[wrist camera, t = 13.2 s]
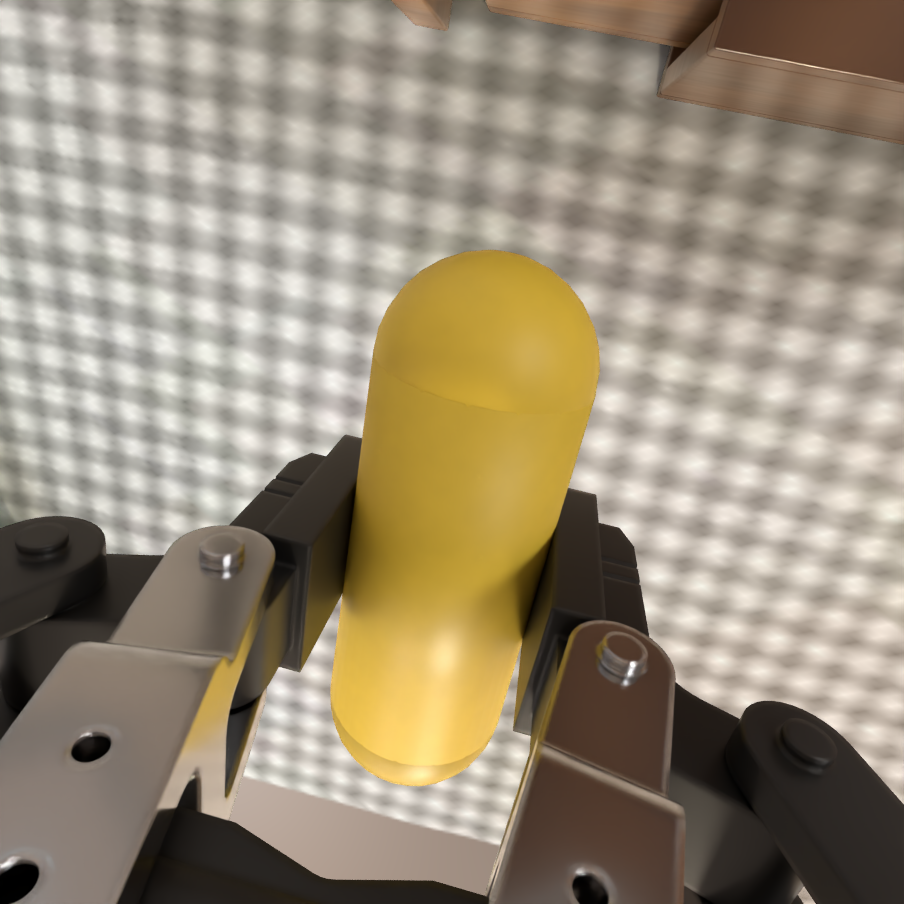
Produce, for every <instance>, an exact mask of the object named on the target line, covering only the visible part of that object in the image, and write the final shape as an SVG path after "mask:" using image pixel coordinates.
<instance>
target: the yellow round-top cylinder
mask: <svg viewBox="0 0 904 904" xmlns="http://www.w3.org/2000/svg"><path fill="white" fill-rule="evenodd" d="M599 372H600V362H599V346H598V342H597V338H596V333H595V329H594V326H593V324H592V322H591V320H590V317H589V315H588V313H587V311H586V309H585V307H584V305H583V303H582V301H581V300H580V299H579V298H578V296H577V295H576V294H575V292H574V291H573V290H572V288H571V287H570V286H569V285H568V284H567V283H566V282H565V281H564V280H562V279H561V278H560V277H559V276H558V275H557V274H555V273H554V272H553V271H552V270H551V269H549V268H547V267H545V266H543V265H542V264H540V263H538V262H536V261H534V260H532V259H530V258H528V257H525V256H522V255H519V254H515V253H510V252H505V251H499V250H481V251H469V252H463V253H460V254H457V255H454V256H450V257H447V258H444V259H441V260H439V261H438V262H436V263H434V264H432V265H431V266H429V267H427V268H425V269H424V270H422V271H420V272H419V273H418V274H417V275H416V276H415V277H414V278H412V279H411V280H410V281H409V282H408V283H407V284H406V285H405V286H404V287H403V288H402V289H401V291H400V292H399V293H398V295H397V296H396V297H395V299H394V300H393V301H392V303H391V304H390V305H389V307H388V309H387V311H386V313H385V315H384V317H383V319H382V322H381V324H380V326H379V328H378V333H377V337H376V341H375V345H374V350H373V358H372V366H371V374H370V382H369V390H368V398H367V405H366V413H365V421H364V429H363V437H362V445H361V453H360V460H359V468H358V476H357V484H356V492H355V500H354V508H353V516H352V524H351V531H350V539H349V547H348V555H347V563H346V571H345V579H344V586H343V594H342V602H341V610H340V617H339V625H338V633H337V641H336V649H335V657H334V665H333V672H332V680H331V709H332V715H333V720H334V723H335V726H336V729H337V732H338V734H339V736H340V739H341V741H342V743H343V744H344V746H345V747H346V748H347V750H348V751H349V753H350V754H351V755H352V756H353V758H354V759H355V760H356V761H357V762H358V763H359V764H360V765H361V766H362V767H364V768H365V769H366V770H367V771H369V772H370V773H372V774H374V775H375V776H377V777H378V778H381V779H384V780H386V781H389V782H391V783H395V784H400V785H406V786H424V785H430V784H435V783H438V782H441V781H443V780H446V779H448V778H450V777H452V776H455V775H456V774H458V773H459V772H461V771H462V770H464V769H465V768H467V767H468V766H469V765H470V764H471V763H472V762H473V761H474V760H475V759H476V758H477V757H478V756H479V755H480V753H481V752H482V751H483V750H484V749H485V748H486V746H487V744H488V742H489V741H490V739H491V737H492V735H493V733H494V731H495V728H496V726H497V724H498V720H499V717H500V714H501V711H502V707H503V704H504V700H505V697H506V694H507V690H508V687H509V684H510V680H511V677H512V674H513V670H514V667H515V664H516V660H517V657H518V654H519V650H520V647H521V643H522V638H523V635H524V632H525V628H526V625H527V621H528V618H529V615H530V611H531V608H532V605H533V601H534V598H535V595H536V591H537V588H538V585H539V581H540V578H541V574H542V571H543V568H544V564H545V561H546V558H547V554H548V551H549V548H550V544H551V541H552V537H553V534H554V531H555V528H556V526H557V523H558V520H559V516H560V513H561V509H562V506H563V503H564V499H565V496H566V493H567V489H568V486H569V483H570V479H571V476H572V473H573V469H574V466H575V463H576V459H577V456H578V453H579V449H580V446H581V442H582V439H583V436H584V432H585V429H586V426H587V422H588V419H589V416H590V412H591V409H592V406H593V402H594V399H595V396H596V388H597V383H598V378H599Z"/></svg>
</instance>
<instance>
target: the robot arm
mask: <svg viewBox="0 0 904 904" xmlns="http://www.w3.org/2000/svg"><path fill="white" fill-rule="evenodd" d="M361 445H362V438H358V437H354V436H350V435H344V436H343V437H342V439H341V440H340V441H339V442H338V443H337V444H336V446H335V447H334V448H333V449H332V450H331V452H330V453H329V454H328V455H327V456H322V455H318V454H314V453H310V454H308V455H305V456H303V457H301V458H298V459H296V460H294V461H291V462H289V463H288V464H287V465H286V466H285V467H284V468H283V469H282V471H281V472H280V473H279V474H278V475H277V476H276V479H273V480H272V481H271V482H270V483H269V484H268V485H267V486H266V487H265V490H264V491H261V492H260V493H259V495H258V496H257V497H256V498H255V499H254V500H253V501H252V502H251V503H250V504H249V505H248V506H247V507H246V508H245V509H244V510H243V511H242V512H241V513H240V514H239V515H238V516H237V518H236V519H235V520H234V521H233V522H232V523H231V524H230V525H225V526H210V527H205V528H201V529H198V530H194V531H192V532H189V533H187V534H185V535H183V536H182V537H180V538H179V539H177V540H176V541H175V542H174V543H173V544H172V545H171V546H170V548H169V549H168V551H167V552H166V554H165V555H124V554H106V543H105V536H104V533H103V532H102V530H101V529H100V528H99V527H98V526H96V525H95V524H93V523H91V522H89V521H86V520H83V519H79V518H74V517H64V516H52V517H41V518H34V519H29V520H25V521H21V522H18V523H15V524H12V525H9V526H6V527H3V528H0V904H803V902H802V901H801V899H800V898H799V896H798V893H799V892H800V891H801V889H802V888H803V886H804V887H805V888H806V890H807V891H808V893H809V894H810V896H811V897H812V899H813V900H814V902H815V903H816V904H904V804H903V803H902V802H901V801H900V800H899V799H898V798H897V796H896V795H895V794H894V793H893V792H892V791H891V790H890V789H889V787H888V786H887V785H886V784H885V783H884V782H883V781H882V780H881V778H880V777H879V776H878V775H877V774H876V773H875V772H874V771H873V769H872V768H871V767H870V766H869V765H868V764H867V763H866V762H865V760H864V759H863V758H862V757H861V756H860V755H859V754H858V753H857V751H856V750H855V749H854V748H853V747H852V746H851V745H850V744H849V743H848V742H847V741H846V739H845V738H844V737H843V736H841V735H840V734H839V733H838V732H837V731H836V730H835V729H833V728H832V727H831V726H829V725H828V724H827V723H825V722H824V721H822V720H821V719H819V718H817V717H816V716H814V715H812V714H810V713H809V712H807V711H805V710H803V709H800V708H798V707H795V706H793V705H789V704H786V703H782V702H776V701H761V702H756V703H754V704H751V705H750V706H749V707H747V708H746V710H745V711H744V713H743V715H742V716H741V718H740V719H739V718H737V717H735V716H733V715H731V714H729V713H727V712H725V711H723V710H721V709H719V708H717V707H715V706H713V705H711V704H709V703H707V702H705V701H703V700H701V699H699V698H698V697H696V696H694V695H692V694H691V693H689V692H688V691H686V690H685V689H683V688H682V687H681V686H680V685H678V684H677V683H676V682H675V680H676V678H675V670H674V667H673V664H672V662H671V660H670V658H669V657H668V656H667V654H666V653H665V651H664V650H663V649H662V648H661V647H660V646H659V645H658V644H657V643H656V642H654V641H653V640H652V639H651V638H649V633H648V627H647V621H646V615H645V609H644V603H643V597H642V591H641V586H640V585H639V582H640V580H639V574H638V569H636V568H637V562H636V556H635V550H634V546H633V545H632V544H631V542H630V541H629V540H628V538H627V537H626V536H625V534H624V533H623V532H622V531H621V529H620V528H618V527H614V526H610V525H605V524H601V523H599V522H598V510H597V498H596V495H595V494H591V493H587V492H583V491H579V490H574V489H570V488H568V489H567V493H566V496H565V499H564V503H563V506H562V509H561V513H560V516H559V520H558V523H557V526H556V528H555V531H554V534H553V537H552V541H551V544H550V548H549V551H548V554H547V558H546V561H545V564H544V568H543V571H542V574H541V578H540V581H539V585H538V588H537V591H536V595H535V598H534V601H533V605H532V608H531V611H530V615H529V618H528V621H527V625H526V628H525V632H524V635H523V638H522V647H521V657H520V667H519V677H518V686H517V696H516V706H515V716H514V726H513V731H515V732H519V733H522V734H526V735H530V736H531V741H530V754H529V757H528V760H527V763H526V766H525V769H524V772H523V775H522V778H521V781H520V784H519V787H518V790H517V794H516V797H515V800H514V803H513V806H512V809H511V813H510V816H509V819H508V822H507V825H506V828H505V832H504V835H503V838H502V841H501V844H500V847H499V851H498V854H497V857H496V861H495V863H494V867H493V870H492V873H491V876H490V879H489V882H488V885H487V889H486V892H485V895H484V896H483V895H480V894H476V893H473V892H470V891H466V890H463V889H459V888H456V887H453V886H449V885H446V884H443V883H439V882H436V881H410V880H408V881H404V880H333V879H326V878H322V877H320V876H318V875H316V874H314V873H312V872H311V871H309V870H308V869H306V868H305V867H303V866H301V865H300V864H298V863H297V862H295V861H294V860H292V859H291V858H289V857H287V856H286V855H284V854H283V853H281V852H280V851H278V850H277V849H275V848H274V847H272V846H271V845H269V844H268V843H266V842H265V841H263V840H261V839H260V838H258V837H257V836H255V835H254V834H252V833H251V832H249V831H248V830H246V829H245V828H243V827H241V826H240V825H238V824H237V823H235V822H232V821H229V819H230V815H231V812H232V809H233V806H234V802H235V799H236V796H237V793H238V790H239V786H240V783H241V780H242V777H243V773H244V770H245V767H246V764H247V761H248V757H249V754H250V751H251V748H252V744H253V741H254V738H255V735H256V732H257V728H258V725H259V722H260V719H261V715H262V712H263V709H264V706H265V701H266V690H267V686H268V685H269V683H270V681H271V679H272V678H273V676H274V674H275V673H276V671H277V669H278V667H282V668H286V669H289V670H293V671H297V672H300V671H301V670H302V668H303V666H304V664H305V662H306V660H307V658H308V657H309V655H310V653H311V651H312V649H313V647H314V645H315V643H316V642H317V640H318V638H319V636H320V634H321V632H322V630H323V628H324V627H325V625H326V623H327V621H328V619H329V617H330V615H331V614H332V612H333V610H334V608H335V606H336V604H337V602H338V600H339V599H340V597H341V595H342V593H343V586H344V579H345V571H346V563H347V555H348V547H349V539H350V531H351V524H352V516H353V508H354V500H355V492H356V484H357V476H358V468H359V460H360V453H361Z"/></svg>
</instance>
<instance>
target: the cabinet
mask: <svg viewBox="0 0 904 904" xmlns="http://www.w3.org/2000/svg"><path fill="white" fill-rule="evenodd" d="M657 97H660V98H665V99H671V100H676V101H681V102H686V103H691V104H696V105H702V106H707V107H712V108H717V109H722V110H727V111H733V112H738V113H743V114H748V115H753V116H758V117H764V118H769V119H774V120H779V121H784V122H789V123H795V124H800V125H805V126H810V127H815V128H820V129H826V130H831V131H836V132H841V133H846V134H851V135H857V136H862V137H867V138H872V139H877V140H882V141H888V142H893V143H898V144H903V145H904V0H723V2H722V5H721V9H720V12H719V15H718V17H717V18H716V19H715V20H714V21H713V22H712V23H711V24H710V25H709V26H708V27H707V28H706V29H705V30H704V31H703V32H702V33H701V34H700V35H699V36H698V37H697V38H696V39H695V40H694V42H693V43H692V44H691V45H690V46H689V47H688V48H687V49H686V48H680V47H675V46H671V47H670V51H669V54H668V58H667V61H666V65H665V68H664V72H663V75H662V79H661V82H660V86H659V89H658V93H657Z"/></svg>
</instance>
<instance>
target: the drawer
mask: <svg viewBox="0 0 904 904" xmlns="http://www.w3.org/2000/svg"><path fill="white" fill-rule="evenodd" d="M391 1H392V2H393V3H394V4H395V5H396V6H397V7H398V8H399V9H400V10H401V11H402V12H403V13H404V14H405V15H406V16H407V17H408V18H409V19H410V20H411V21H412V22H413V23H414V24H415V25H418V26H423V27H429V28H434V29H439V30H444V31H446V30H448V27H449V20H450V14H451V7H452V1H453V0H391ZM485 1H486V3H487V6H488V8H489V11H490V12H494V13H499V14H504V15H510V16H515V17H520V18H526V19H531V20H536V21H542V22H547V23H552V24H558V25H563V26H568V27H574V28H579V29H584V30H590V31H595V32H600V33H606V34H611V35H616V36H622V37H627V38H632V39H638V40H643V41H648V42H654V43H659V44H664V45H670V46H675V47H680V48H686V49H687V48H688V47H689V46H690V45H691V44H692V43H693V42H694V40H695V39H696V38H697V37H698V36H699V35H700V34H701V33H702V32H703V31H704V30H705V29H706V28H707V27H708V26H709V25H710V24H711V23H712V22H713V21H714V20H715V19H716V18H717V17H718V15H719V12H720V9H721V5H722V2H723V0H485Z"/></svg>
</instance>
